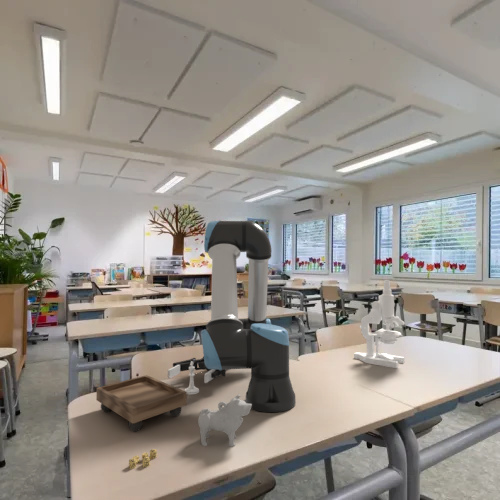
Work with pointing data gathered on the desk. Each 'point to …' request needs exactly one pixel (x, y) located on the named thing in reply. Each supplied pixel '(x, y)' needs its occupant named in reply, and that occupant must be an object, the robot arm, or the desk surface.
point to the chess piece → (191, 382)
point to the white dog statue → (223, 419)
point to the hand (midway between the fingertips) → (186, 376)
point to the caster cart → (141, 399)
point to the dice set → (145, 459)
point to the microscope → (381, 330)
